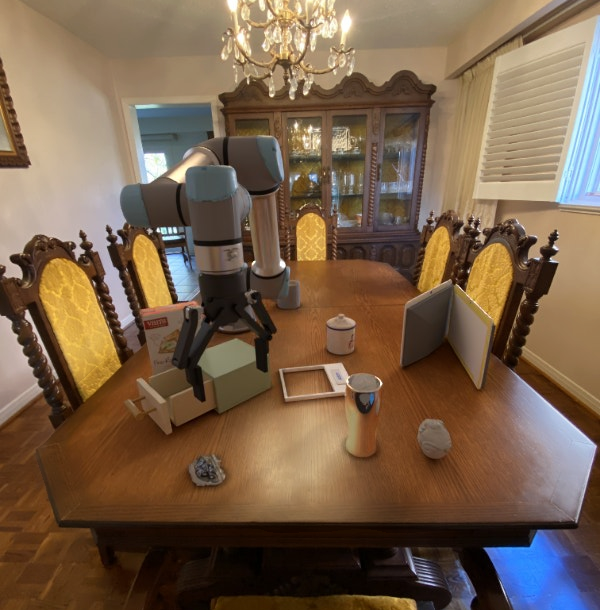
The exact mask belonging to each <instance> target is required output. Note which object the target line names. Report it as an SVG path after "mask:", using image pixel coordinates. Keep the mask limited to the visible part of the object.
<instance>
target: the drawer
mask: <svg viewBox="0 0 600 610" xmlns="http://www.w3.org/2000/svg"><path fill="white" fill-rule="evenodd" d="M202 376H203V383H204V390H205V397H206V401H205V402H203V403H202V402H201V401H199V400H198V399H197V398H195V397H194V392H193V386H191V385H190V384H189V383H188V382H187V380H186V374H185V369H183V370H180V369H178V368H177V367H175V368H172V369H170V370H167V371H164V372H162V373H159V374H156V375H154V376H153V375H151V376H148V382H149V383H148V382H147V381H145V380H144V379H143V378H142V377H139V378H137V379H135V381H136V386H137V390H138V394H139V397H136V398H134V399H126V400H124V402H123V405H124V407H125V408H126V409H127V411H128V412H129V413H130V414H131V415H132V416H133V417H134V419H135V420H136V421H141V420H143V418H144V417H145V416H146V415H148V416H149V417H150V418H151V419H152V420H153V422H154V423H155V424H156V425H157V426H158V427H159V428H160V429H161V430H162V431H163V432H164V433H165V435H166V436H168V435H170V434H172V433H173V429H172V424H173V425H174V426H175V427H179V426H181V425H183V424H185V423H188V422H189V421H191V420H193V419H195V418H197V417H199V416H202V415H203V414H206V413H207V412H210V411H211V410H214V409H213V408H215V407H217V402H216V395H215V388H214V380H213V379H211V378H210V377H209V376H207V375H206V374H204V373H203V372H202ZM138 402H140V403H141V408H142V409H143V411H141V410H140V409H139V408H138V407H137V405H136V403H138ZM171 423H172V424H171Z"/></svg>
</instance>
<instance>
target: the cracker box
mask: <svg viewBox="0 0 600 610" xmlns="http://www.w3.org/2000/svg"><path fill="white" fill-rule="evenodd" d="M185 306H190V307H196V306H200V304H198V302H197V301H196V300H192V301H188V302H187V301H185V302H179V303H174V304H167V305H161V306H154V307H147V308H142V309H140V314H141V319H142V324H143V330H144V334H145V340H146V345H147V350H148V354H149V355H148V356H149V360H150V365H151V369H152V376H154V375H156V374H159V373H162V372H164V371H167V370H170V369H172V368H175V366H174V365H173V364H172V363H171V361H172V357H173V354H174V351H175V347H176V344H177V341H178V337H179V334H180V331H181V327H182V324H183V321H184V314H183V309H184V307H185ZM200 317H201V319H200V320H198V326H197V329H196V333H195V336H194V338H195V337H196V335H197V333H198V331H199V329H200V327H201V322H202V320H203V318H202V315H201V316H200ZM193 340H194V339H193Z"/></svg>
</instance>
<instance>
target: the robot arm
mask: <svg viewBox="0 0 600 610" xmlns="http://www.w3.org/2000/svg"><path fill="white" fill-rule="evenodd" d="M284 172H285V171H284V163H283V157H282V152H281V147H280V144H279V141H278V139H277V138H276V137H275V136H273V135H262V134H257V135H233V136H218V137H213V138H210V139H207V140H205V141H202V142H200V143H197V144H196V145H193V146H192V147H190V148H189V149H188V150H187V151H186V152H185V153H184V155H183V157H182V159H181V160H180V161H179V162H177V163H176V164H175V165H173V166H172V167H171V168H169V169H168V170H166V171H165V172H164V173H162V174H160V175H159V176H158V177H156V178H155V179H154V180H152V181H151V182H148V183H141V182H137V183H133V184H126V185H125V186H123V187H122V188H121V191H120V195H119V205H120V210H121V212H122V216H123V218H124V219H125V221H126V222H127V224H128V225H130V226H131V227H134V228H142V229H143V228H147V229H150V230H151V229H158V228H159V229H160V228H161V229H162V228H187V227H188V228H189V227H191V234H192V235H191V236H192V242H193V243H192V244H193V252H194V258H195V266H196V269H197V270H198V271H199V272H198V273H197V281H198V288H199V289H198V290H199V294H200V297H201V303H200V305H199V306H196V307H190V306H185V307H184V309H183V314H184V321H183V324H182V327H181V331H180V334H179V337H178V341H177V344H176V347H175V351H174V354H173V357H172V361H171V363H172V364H173V365H174V366H175V367H177V368H178V369H180V370H183V369H185V374H186V380H187V382H188V383H189V384H190V385H191V386H193V392H194V397H195V398H197V399H198V400H199V401H201V402H202V403H203V402H205V401H206V397H205V390H204V383H203V376H202V369H201V366H199V365H197V364H198V362H199V360H200V358H201V356H202V355H203V353H204V351H205V349H207V347H208V345H209V343H210V342H211V340H212V338H213V336H214V335H215V333H217V332H219V333H222V334H228V335H229V334H231V335H233V334H241V333H246V332H249V331H252V332H253V333H254V334H255V335H256V336H257V337H255V338H254V339H253V340H254V342H253V343H254V347H255V355H256V368H257V369H258V370H260V371H262V372H264V373H266V372H268V362H267V354H269V355H270V342H271V341H273V338H274V337H273V335H275V334H277V333H278V328H277V327H276V325H275V323H274V321H273V319H272V318H271V315H270V314H269V312H268V310H267V309H266V307H265V305H264V302H263V300H270V299H275V300H277V299H284V298H286V297H287V295H288V288H289V280H290V276H291V275H290V274H291V267H290V266H288V265H286V262H285V260H284V259H283V258H281V249H280V236H279V227H278V225H279V224H278V214H277V202H276V201H277V200H276V193H277V192H278V191H279V190H280V188H281V187H280V184H281V183H283V182H284V181H285V173H284ZM247 218H248V222H249V229H250V235H251V242H252V243H251V244H252V249H253V257H254V261H253V262H252V263H251V266H248V264H247V263H246V262H245V261H244V250H243V239H242V223H244V222H245V221H246V220H247ZM202 314H203V315H204V317H203V318H202V322H201V327H200V329H199V331H198V333H197V335H196V337H195V338H194V336H195V333H196V329H197V326H198V320H200V319H201V317H202ZM200 316H201V317H200ZM256 317H257V318H256ZM257 319H258V321H259V323H258V322H257ZM193 339H194V340H193Z"/></svg>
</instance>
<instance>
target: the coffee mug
mask: <svg viewBox="0 0 600 610" xmlns="http://www.w3.org/2000/svg"><path fill="white" fill-rule="evenodd" d="M269 300H270V301H271V302H273V303H275V304H277V307H278V308H279V309H282V310H293V309H297V308H300V306H301V283H300V281H298V280H297V279H295V280H294V279H289V288H288V295H287V297H286V298H284V299H277V300H275V299H269Z"/></svg>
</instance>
